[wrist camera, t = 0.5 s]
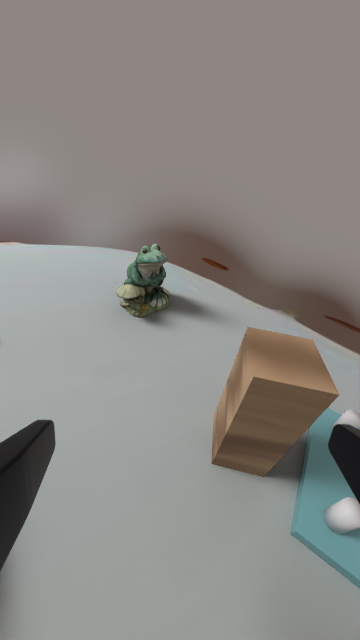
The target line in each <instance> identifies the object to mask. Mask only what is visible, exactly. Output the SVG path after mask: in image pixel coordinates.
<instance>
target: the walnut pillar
mask: <svg viewBox="0 0 360 640" xmlns="http://www.w3.org/2000/svg"><path fill="white" fill-rule="evenodd" d="M338 396H339V393H338V391H337V389H336V387H335V385H334V383H333V381H332V379H331V377H330V374H329V372H328V370H327V368H326V366H325V364H324V362H323V360H322V358H321V356H320V354H319V352H318V350H317V347H316V345H315V343H314V341H313V340H311V339H306V338H301V337H296V336H291V335H286V334H281V333H276V332H270V331H265V330H260V329H255V328H250V327H247V330H246V333H245V335H244V338H243V341H242V343H241V346H240V349H239V351H238V354H237V356H236V359H235V362H234V364H233V367H232V370H231V372H230V375H229V378H228V380H227V383H226V386H225V388H224V391H223V393H222V396H221V399H220V401H219V404H218V407H217V409H216V412H215V415H214V427H213V445H212V463H211V464H215V465H219V466H223V467H227V468H231V469H235V470H239V471H243V472H247V473H251V474H255V475H259V476H263V477H264V476H265V475H266V474H267V473H268V472H269V471H270V470H271V469H272V467H273V466H274V465H275V464H276V463H277V462H278V461H279V460H280V459H281V458H282V457H283V456H284V454H285V453H286V452H287V451H288V450H289V449H290V448H291V447H292V446H293V445H294V444H295V442H296V441H297V440H298V439H299V438H300V437H301V436H302V435H303V434H304V433H305V432H306V431H307V429H308V428H309V427H310V426H311V425H312V424H313V423H314V422H315V421H316V420H317V419H318V418H319V416H320V415H321V414H322V413H323V412H324V411H325V410H326V409H327V408H328V407H329V406H330V404H331V403H332V402H333V401H334V400H335V399H336V398H337V397H338Z"/></svg>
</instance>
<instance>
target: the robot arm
mask: <svg viewBox="0 0 360 640" xmlns="http://www.w3.org/2000/svg"><path fill="white" fill-rule="evenodd" d="M54 449H55V431H54V423H53V421H52V420H37V421H35V422H33V423H31V424H30V425H28V426H27V427H25V428H23V429H22V430H20V431H19V432H17V433H15V434H14V435H12V436H11V437H9V438H7V439H6V440H4V441H3V442H1V443H0V571H1V569H2V567H3V565H4V563H5V561H6V559H7V557H8V555H9V553H10V551H11V549H12V547H13V545H14V543H15V541H16V539H17V537H18V535H19V533H20V531H21V529H22V527H23V525H24V523H25V520H26V518H27V516H28V514H29V512H30V510H31V507H32V505H33V502H34V500H35V497H36V495H37V492H38V490H39V487H40V485H41V482H42V480H43V477H44V475H45V472H46V470H47V467H48V465H49V462H50V460H51V457H52V455H53V452H54ZM328 449H329V451H330V453H331V455H332V457H333V459H334V460H335V462H336V464H337V466H338V467H339V469H340V471H341V473H342V474H343V476H344V478H345V480H346V482H347V483H348V485H349V487H350V489H351V490H352V492H353V494H354V496H355V497H356V499H357V501H358V502H359V504H360V430H359V429H357V428H355V427H353V426H351V425H349V424H336V425H335V426H334V427H333V429H332V433H331V436H330V439H329V442H328Z"/></svg>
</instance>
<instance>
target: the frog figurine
mask: <svg viewBox="0 0 360 640" xmlns="http://www.w3.org/2000/svg"><path fill="white" fill-rule="evenodd" d="M159 250H160V247H159V246H158V245H157V244H154V245H153V246H152V247H151V249H150V248H149V247H148V246H144V247H143V248H142V249H141V252H140V253H139V254H138V255H137V258H136V260H135V261H134V262H133V263H131V264H130V265H129V266H128V268H127V276H128V279H126V280H125V282H124V286H121V287H120V288H119V289H118V290H117V292H116V294H117V296H118V297H121V298H124V301H120V305H121V306H123V307H125V308H126V310H127V312H129V313H130V314H131V315H132V316H135V317H145V316H148V315H149V314H150V313H152V312H154V311H159V310H162V309H164V308H166V307H167V306H169V300H168V297H169V291H168V290H166V289H165V288H163V287H164V286H163V287H161V286H160V285H162V283H163V279H164V278H165V277H166V272H165V269H164V267H163V266H162V265H163V264H164V263H165V262H166V261H167V256H166V255H165V254H163V253H162V252H160V251H159ZM122 284H123V283H122ZM163 285H164V284H163ZM112 288H113V287H112Z"/></svg>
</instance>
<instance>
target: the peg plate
mask: <svg viewBox="0 0 360 640" xmlns="http://www.w3.org/2000/svg"><path fill="white" fill-rule="evenodd" d="M336 424H349V425H351V426H353V427H355V428H357V429H359V430H360V414H359V413H357V412H356V411H354V410H347V411H346V412H345V413H344V414H343V415H340V414H338V413H336V412H334V411H332V410H331V409H329V408H327V409H326V410H325V411H324V412H323V413H322V414H321V415H320V416H319V418H318V419H317V420H316V421H315V422H314V423H313V424H312V425H311V426H310V429H309V434H308V440H307V445H306V451H305V456H304V462H303V467H302V473H301V478H300V484H299V490H298V495H297V501H296V506H295V512H294V517H293V523H292V528H291V535H292V536H294V537H295V538H296V539H298V540H299V541H300V542H301V543H303V544H304V545H305V546H307V547H308V548H309V549H310V550H312V551H313V552H314V553H316V554H317V555H318V556H319V557H321V558H322V559H323V560H324V561H326V562H327V563H328V564H330V565H331V566H332V567H333V568H335V569H336V570H337V571H339V572H340V573H341V574H342V575H344V576H345V577H346V578H348V579H349V580H350V581H351V582H353V583H354V584H355V585H356V586H358V587H359V588H360V504H359V502H358V501H357V499H356V497H355V496H354V494H353V492H352V490H351V489H350V487H349V485H348V483H347V482H346V480H345V478H344V476H343V474H342V473H341V471H340V469H339V467H338V466H337V464H336V462H335V460H334V459H333V457H332V455H331V453H330V451H329V449H328V442H329V439H330V436H331V433H332V429H333V427H334V426H335V425H336Z"/></svg>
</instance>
